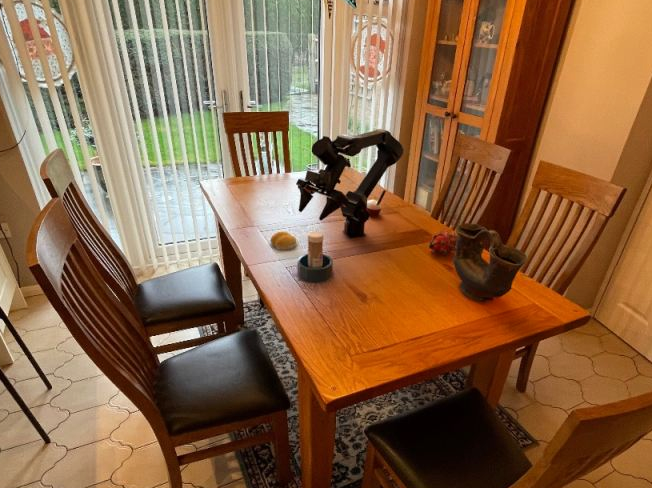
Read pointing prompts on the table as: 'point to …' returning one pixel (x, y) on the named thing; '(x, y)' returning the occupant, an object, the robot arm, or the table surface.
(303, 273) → the bowl
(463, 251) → the pottery vessel
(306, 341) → the table surface
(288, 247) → the bread roll
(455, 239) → the dragon fruit
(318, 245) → the spice jar
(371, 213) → the cocoa
